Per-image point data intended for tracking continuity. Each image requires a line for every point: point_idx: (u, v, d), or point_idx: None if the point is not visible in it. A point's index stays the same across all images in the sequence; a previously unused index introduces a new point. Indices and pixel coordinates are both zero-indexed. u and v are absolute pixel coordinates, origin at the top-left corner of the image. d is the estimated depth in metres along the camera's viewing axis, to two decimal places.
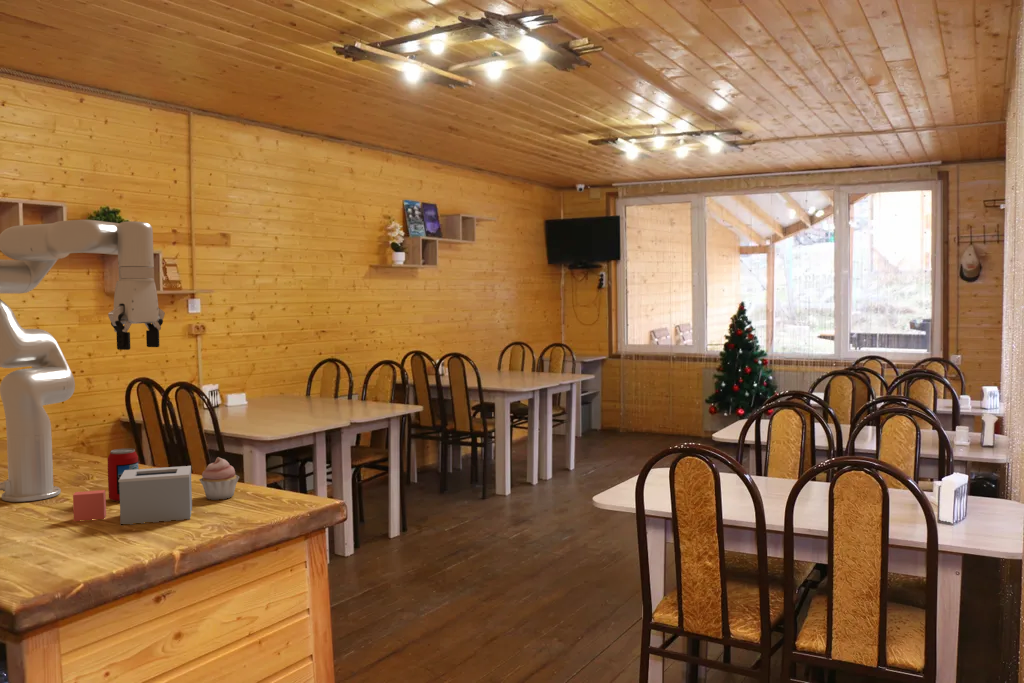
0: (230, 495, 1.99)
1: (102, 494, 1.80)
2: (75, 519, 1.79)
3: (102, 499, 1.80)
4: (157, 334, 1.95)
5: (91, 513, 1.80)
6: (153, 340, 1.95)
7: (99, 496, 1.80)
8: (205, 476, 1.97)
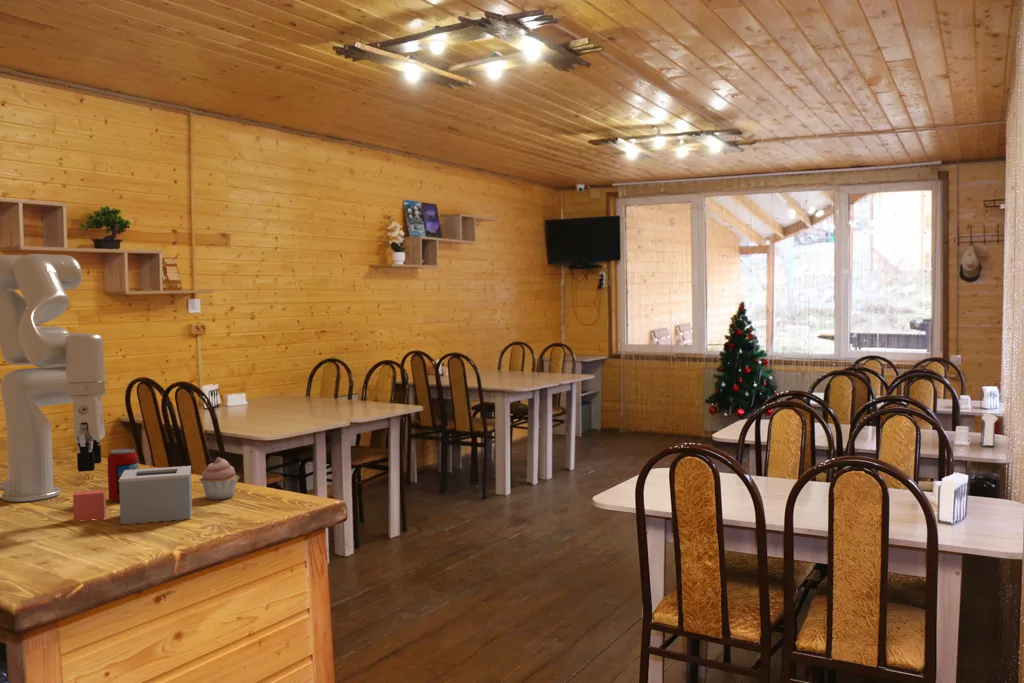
0: (230, 495, 1.99)
1: (102, 494, 1.80)
2: (75, 519, 1.79)
3: (102, 499, 1.80)
4: None
5: (91, 513, 1.80)
6: None
7: (99, 496, 1.80)
8: (205, 476, 1.97)
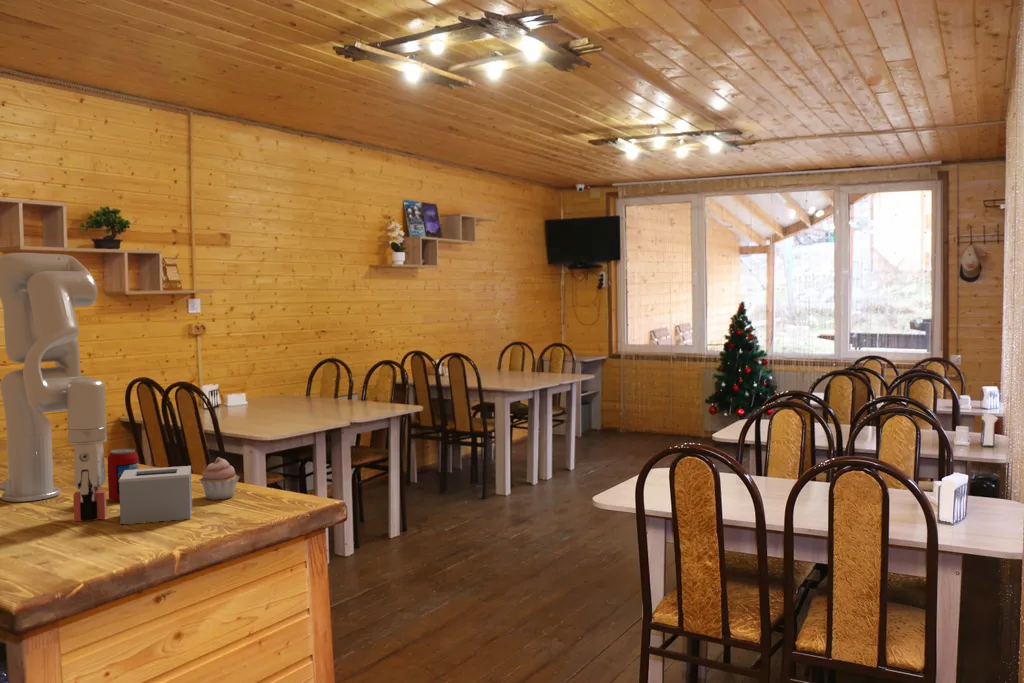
0: (230, 495, 1.99)
1: (102, 494, 1.80)
2: (75, 519, 1.79)
3: (102, 499, 1.80)
4: None
5: None
6: None
7: (99, 496, 1.80)
8: (205, 476, 1.97)
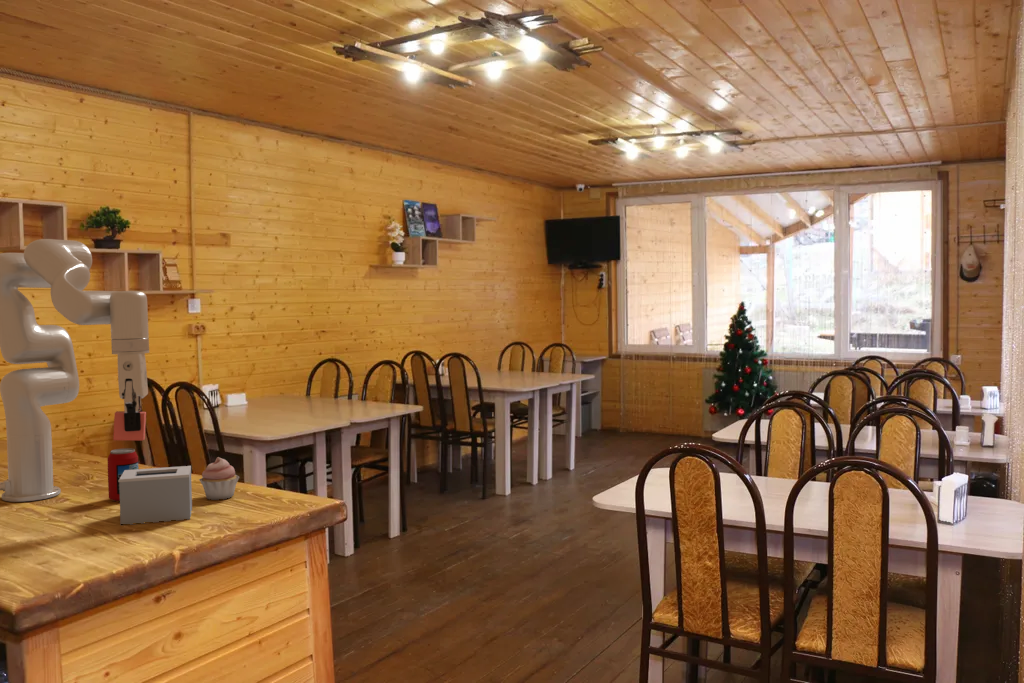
0: (230, 495, 1.99)
1: (143, 414, 1.80)
2: (115, 437, 1.78)
3: (143, 419, 1.80)
4: None
5: (131, 433, 1.79)
6: None
7: None
8: (205, 476, 1.97)
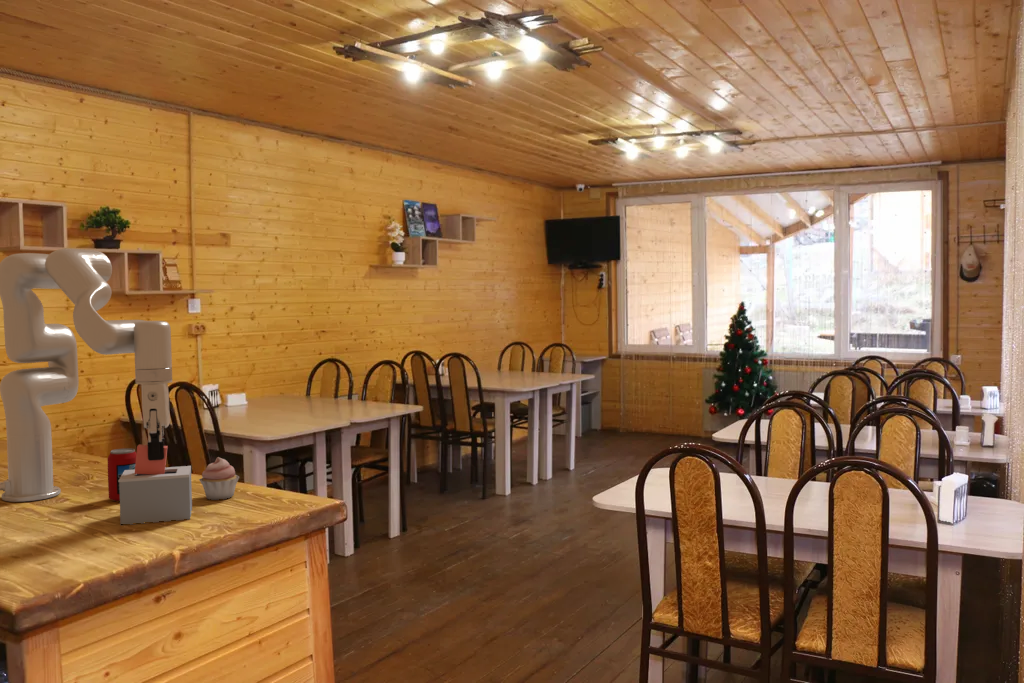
0: (230, 495, 1.99)
1: (165, 449, 1.81)
2: (136, 471, 1.79)
3: (164, 454, 1.81)
4: None
5: (152, 467, 1.80)
6: None
7: None
8: (205, 476, 1.97)
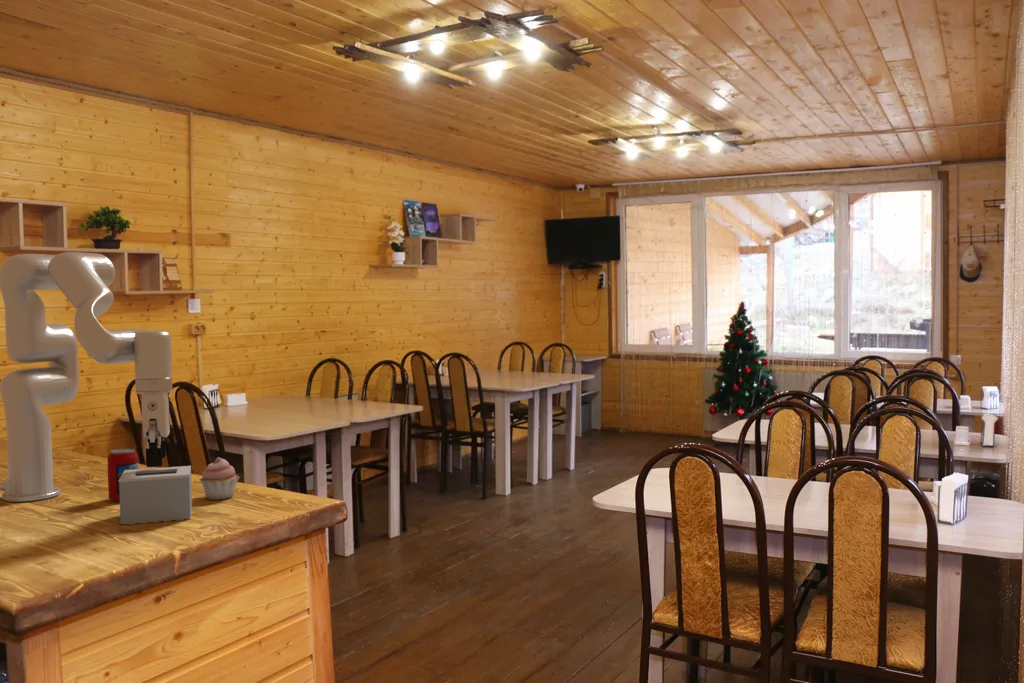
0: (230, 495, 1.99)
1: None
2: None
3: None
4: None
5: None
6: None
7: None
8: (205, 476, 1.97)
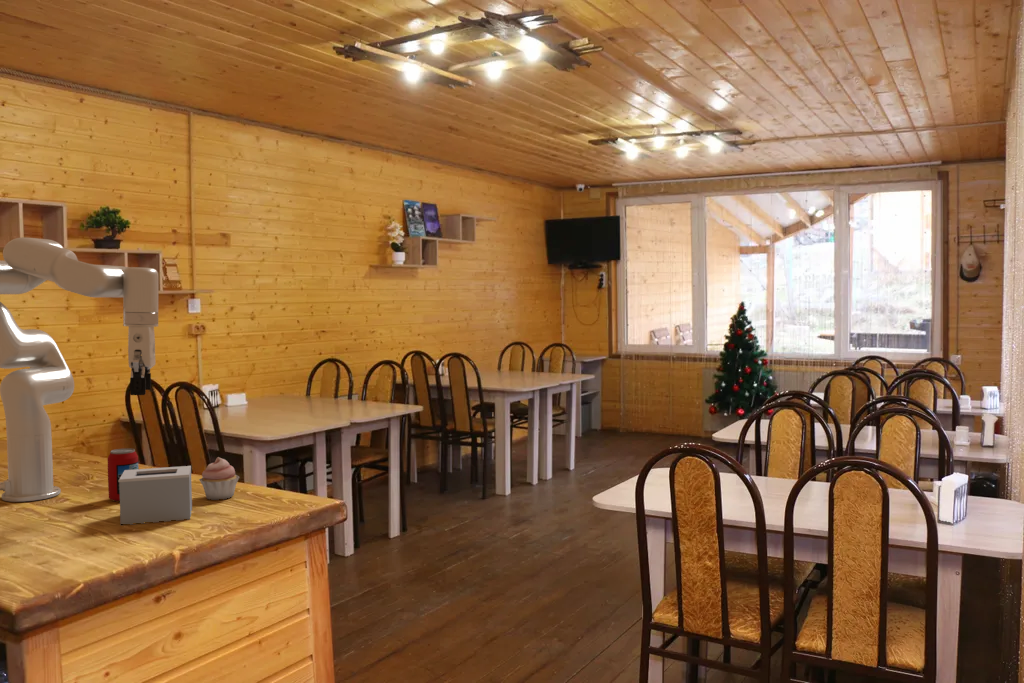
0: (230, 495, 1.99)
1: None
2: None
3: None
4: None
5: None
6: None
7: None
8: (205, 476, 1.97)
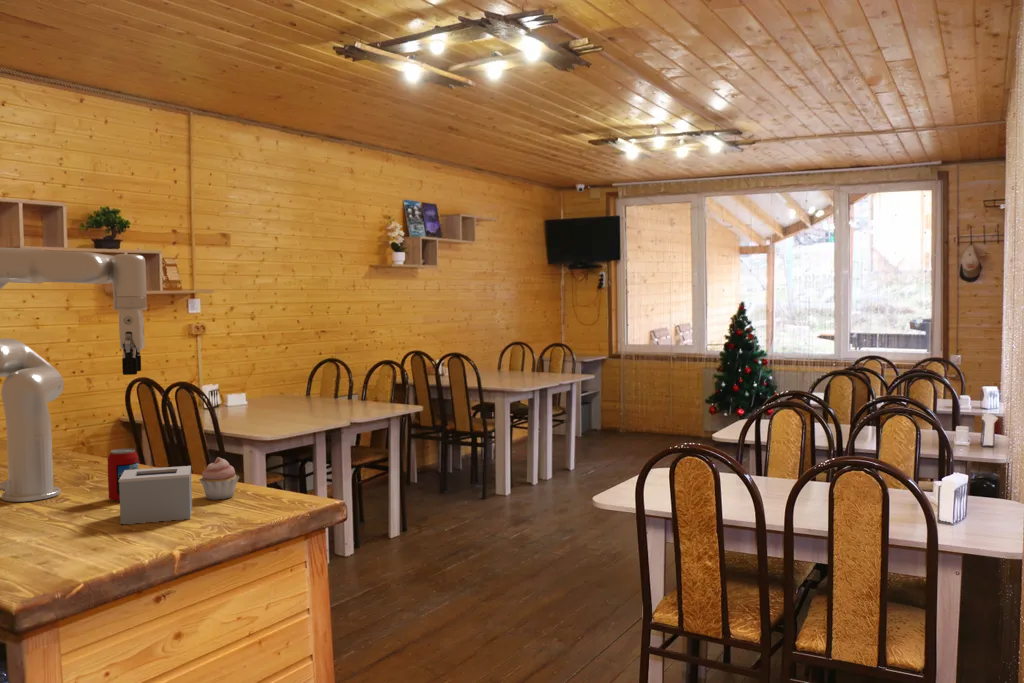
0: (230, 495, 1.99)
1: None
2: None
3: None
4: None
5: None
6: None
7: None
8: (205, 476, 1.97)
